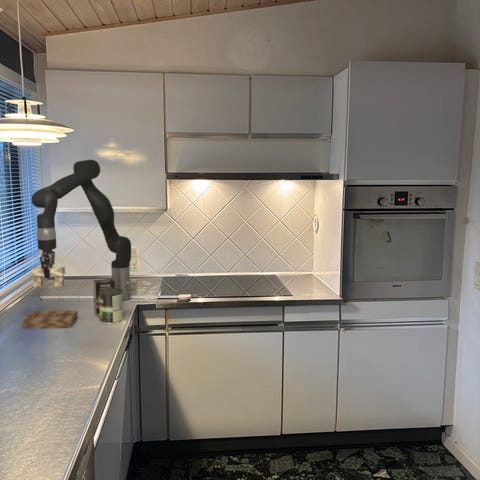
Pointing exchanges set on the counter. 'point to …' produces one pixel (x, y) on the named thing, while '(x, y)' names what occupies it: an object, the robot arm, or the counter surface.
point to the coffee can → (110, 305)
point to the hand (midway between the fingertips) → (48, 276)
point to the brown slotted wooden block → (50, 319)
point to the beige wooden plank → (54, 271)
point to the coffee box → (98, 286)
